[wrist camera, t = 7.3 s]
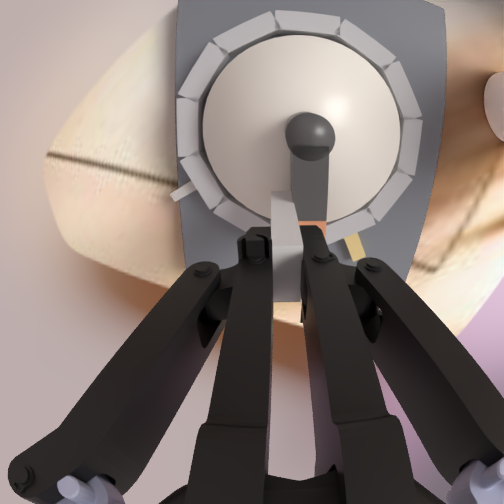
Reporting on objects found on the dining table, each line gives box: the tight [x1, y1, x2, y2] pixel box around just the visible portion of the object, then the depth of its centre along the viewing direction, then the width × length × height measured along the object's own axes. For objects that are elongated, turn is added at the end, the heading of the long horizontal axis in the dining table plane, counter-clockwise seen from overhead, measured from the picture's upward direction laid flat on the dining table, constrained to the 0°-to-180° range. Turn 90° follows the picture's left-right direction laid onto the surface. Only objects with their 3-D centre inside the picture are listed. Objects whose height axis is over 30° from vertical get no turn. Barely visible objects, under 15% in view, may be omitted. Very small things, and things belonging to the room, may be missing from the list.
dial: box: [203, 35, 400, 237], centre depth 15 cm, size 12×12×5 cm
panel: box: [170, 0, 447, 282], centre depth 17 cm, size 24×20×3 cm
